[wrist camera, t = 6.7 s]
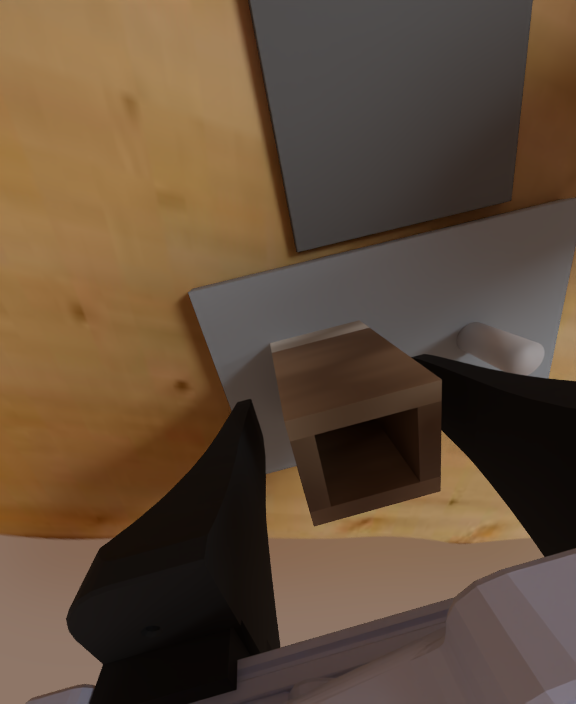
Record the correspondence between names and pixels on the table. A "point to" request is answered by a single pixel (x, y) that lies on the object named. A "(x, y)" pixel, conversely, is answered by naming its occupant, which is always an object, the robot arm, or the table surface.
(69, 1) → the table surface
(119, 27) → the table surface
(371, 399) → the sleeve
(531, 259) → the pin board
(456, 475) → the table surface
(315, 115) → the mat
